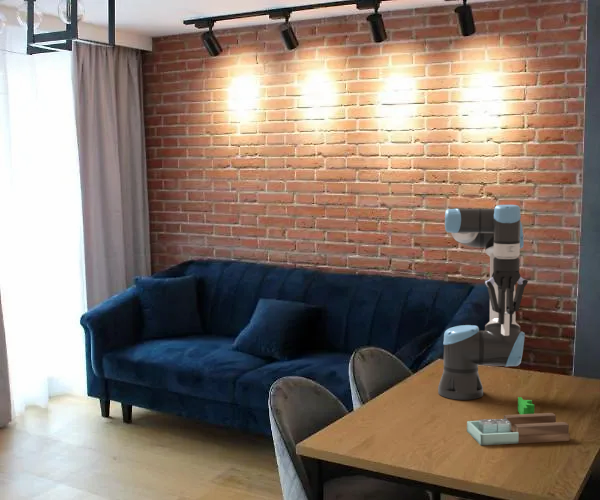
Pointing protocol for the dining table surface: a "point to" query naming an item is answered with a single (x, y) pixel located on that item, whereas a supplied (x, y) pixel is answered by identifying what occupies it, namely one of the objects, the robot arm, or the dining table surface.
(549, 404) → the dining table surface
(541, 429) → the slot board
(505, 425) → the chip
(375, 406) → the dining table surface
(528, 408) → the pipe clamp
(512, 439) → the tray
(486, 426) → the chip
